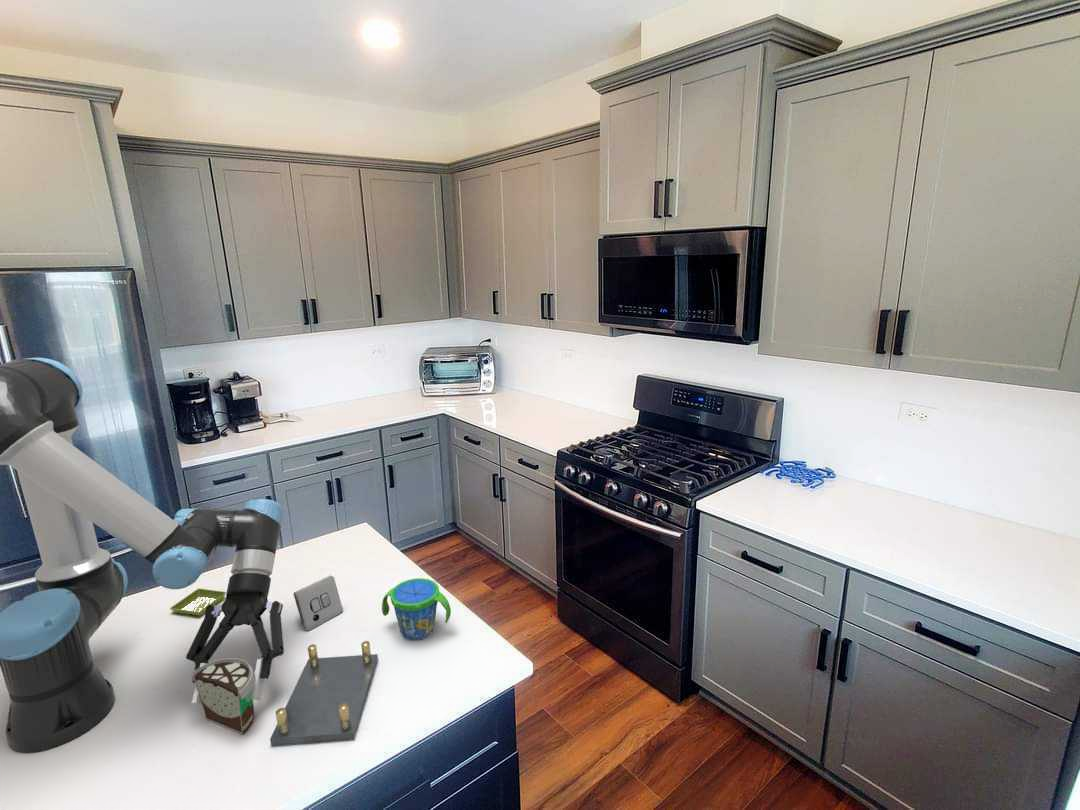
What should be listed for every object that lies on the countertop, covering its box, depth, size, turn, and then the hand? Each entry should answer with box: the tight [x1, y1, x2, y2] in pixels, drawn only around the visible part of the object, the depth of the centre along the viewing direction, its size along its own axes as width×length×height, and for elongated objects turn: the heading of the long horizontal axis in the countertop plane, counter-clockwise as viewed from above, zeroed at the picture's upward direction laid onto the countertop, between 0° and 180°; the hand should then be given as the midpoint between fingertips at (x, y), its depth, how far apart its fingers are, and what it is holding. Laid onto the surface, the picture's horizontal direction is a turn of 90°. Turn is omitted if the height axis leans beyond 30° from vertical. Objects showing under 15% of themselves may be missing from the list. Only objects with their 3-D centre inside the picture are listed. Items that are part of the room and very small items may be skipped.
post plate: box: [269, 640, 379, 747], centre depth 105 cm, size 14×20×6 cm
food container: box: [191, 657, 255, 735], centre depth 101 cm, size 12×6×10 cm, turn 68°
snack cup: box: [381, 577, 452, 641], centre depth 123 cm, size 16×10×10 cm
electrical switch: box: [293, 575, 344, 631], centre depth 129 cm, size 9×5×9 cm, turn 141°
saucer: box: [169, 588, 227, 616], centre depth 135 cm, size 9×9×2 cm
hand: (226, 701), depth 100 cm, fingers closed on food container, 9 cm apart
